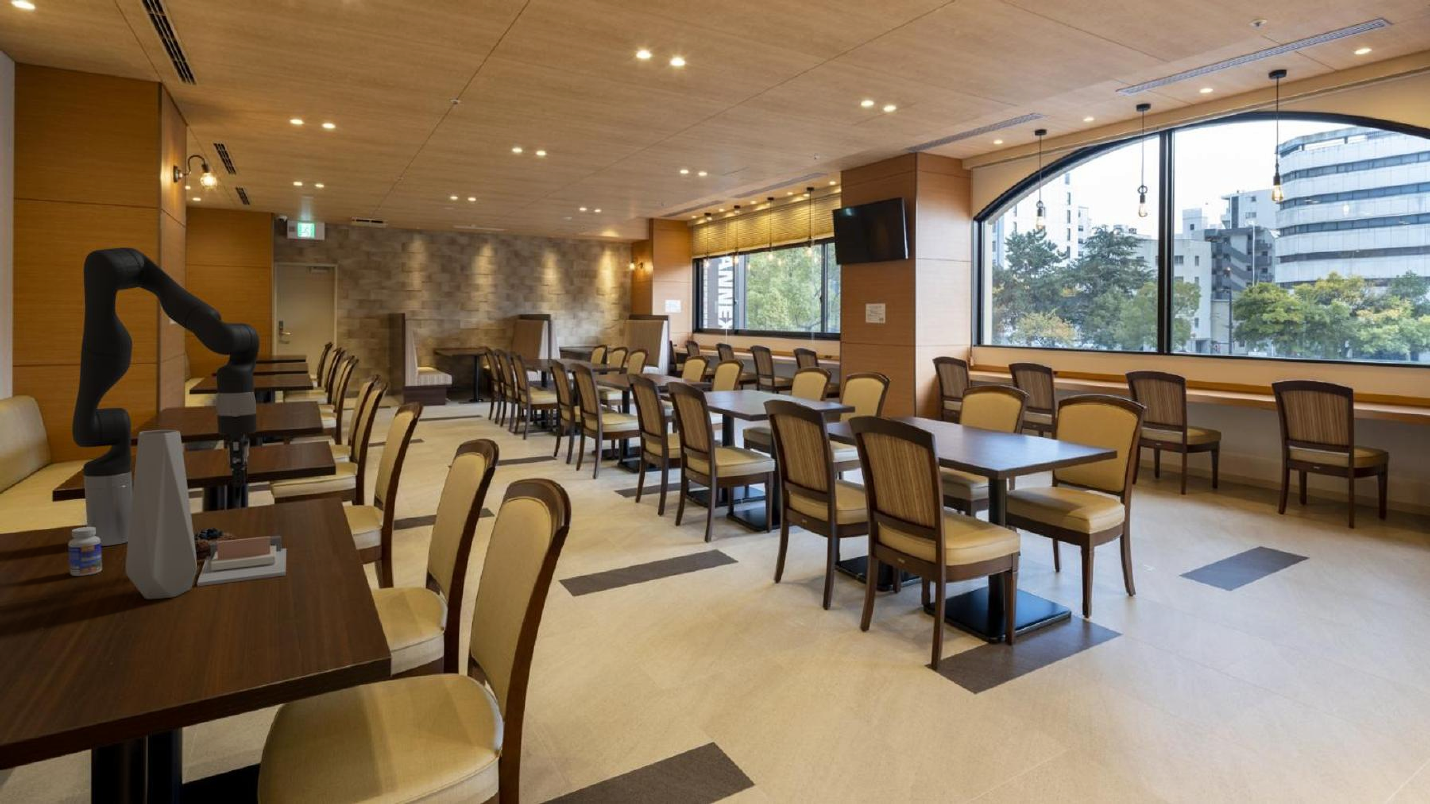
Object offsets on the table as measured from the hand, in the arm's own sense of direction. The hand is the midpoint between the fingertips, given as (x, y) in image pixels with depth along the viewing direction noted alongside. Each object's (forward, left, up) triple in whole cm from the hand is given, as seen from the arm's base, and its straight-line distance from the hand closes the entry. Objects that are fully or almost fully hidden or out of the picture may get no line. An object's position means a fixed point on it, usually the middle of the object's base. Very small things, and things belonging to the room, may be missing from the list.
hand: (240, 483), depth 173 cm
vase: (+16, -12, -19) cm, 27 cm away
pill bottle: (-7, -30, -19) cm, 36 cm away
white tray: (+4, 0, -18) cm, 19 cm away
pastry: (-14, -8, -19) cm, 25 cm away
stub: (+5, 0, -17) cm, 18 cm away
